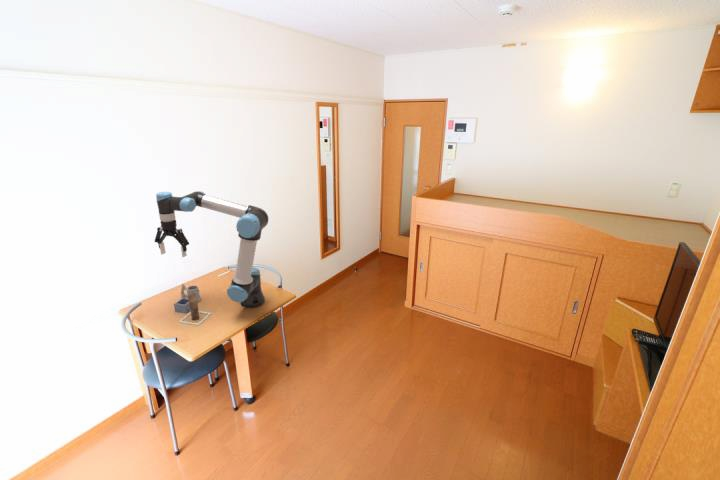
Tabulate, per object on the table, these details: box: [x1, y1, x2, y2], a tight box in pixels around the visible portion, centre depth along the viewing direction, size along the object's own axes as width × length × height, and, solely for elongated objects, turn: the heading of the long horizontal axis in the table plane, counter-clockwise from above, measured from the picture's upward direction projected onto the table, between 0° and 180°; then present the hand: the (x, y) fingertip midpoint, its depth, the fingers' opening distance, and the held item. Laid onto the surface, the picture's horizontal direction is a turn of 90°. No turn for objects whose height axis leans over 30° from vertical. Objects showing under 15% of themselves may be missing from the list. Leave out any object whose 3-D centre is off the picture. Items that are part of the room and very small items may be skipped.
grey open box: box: [173, 297, 191, 314], centre depth 200 cm, size 8×8×6 cm
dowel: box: [188, 293, 200, 321], centre depth 190 cm, size 4×4×16 cm
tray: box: [178, 310, 212, 327], centre depth 192 cm, size 12×12×2 cm
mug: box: [180, 283, 202, 303], centre depth 209 cm, size 8×12×12 cm, turn 88°
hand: (173, 255), depth 192 cm, fingers open, 13 cm apart
